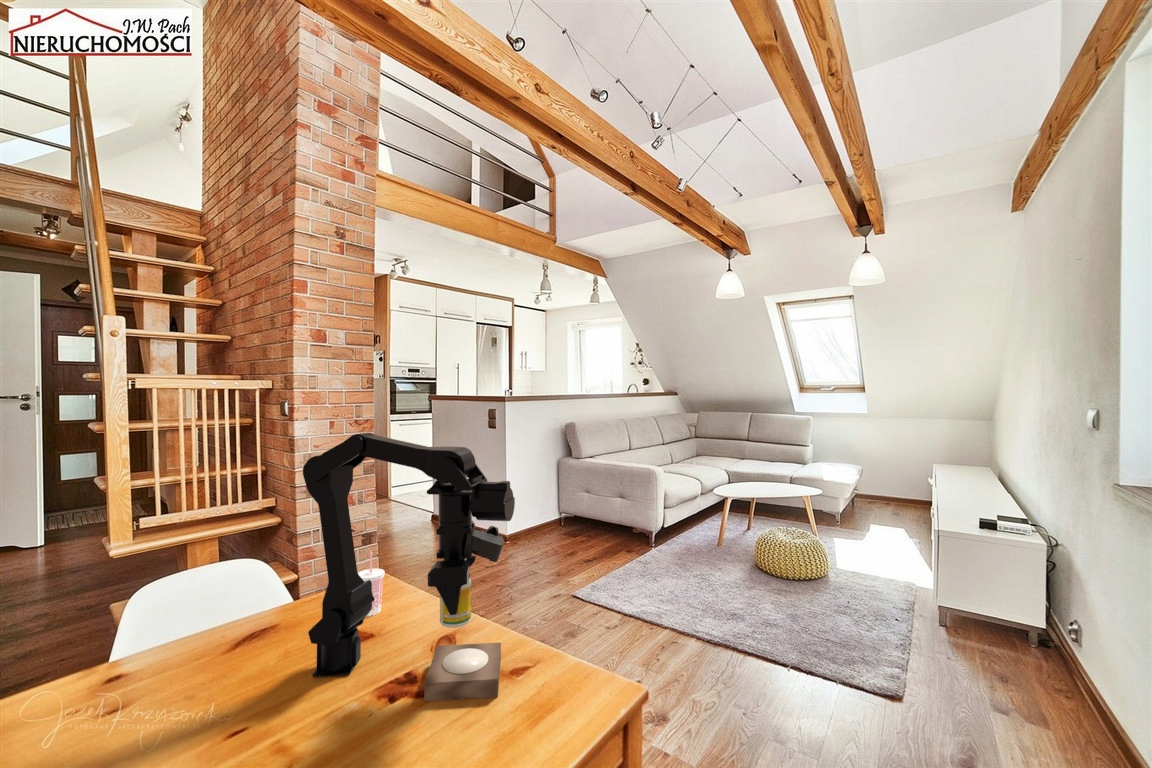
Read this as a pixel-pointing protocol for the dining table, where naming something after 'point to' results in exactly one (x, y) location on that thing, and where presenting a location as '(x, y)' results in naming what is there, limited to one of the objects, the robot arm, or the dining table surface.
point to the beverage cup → (374, 585)
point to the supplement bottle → (463, 609)
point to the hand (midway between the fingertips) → (455, 607)
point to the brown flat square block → (463, 672)
